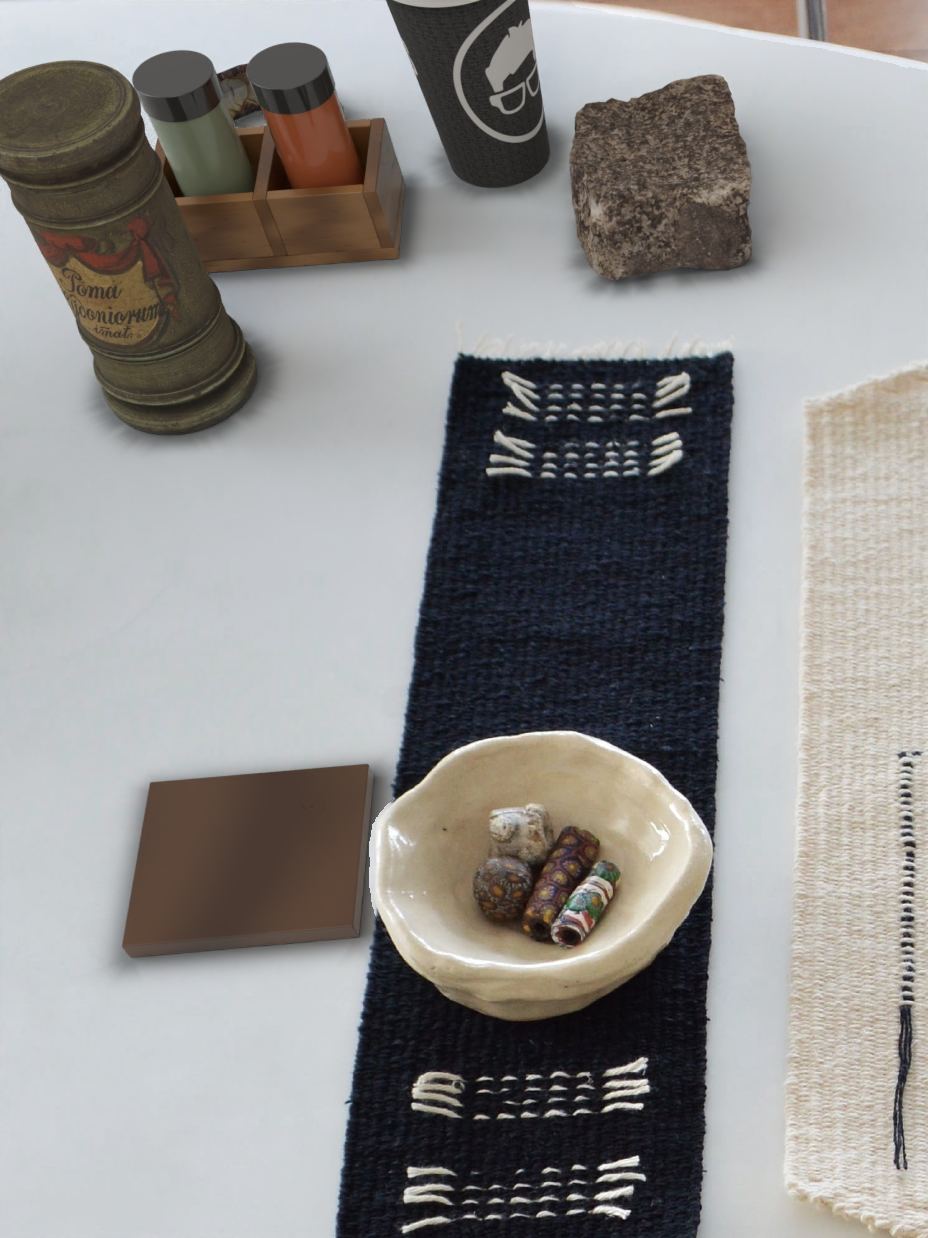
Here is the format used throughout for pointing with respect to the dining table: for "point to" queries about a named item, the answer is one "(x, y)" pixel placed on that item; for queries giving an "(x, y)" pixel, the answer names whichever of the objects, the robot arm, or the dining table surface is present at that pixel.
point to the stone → (662, 181)
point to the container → (120, 248)
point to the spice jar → (304, 116)
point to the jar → (194, 123)
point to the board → (250, 860)
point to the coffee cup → (479, 84)
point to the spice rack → (299, 209)
